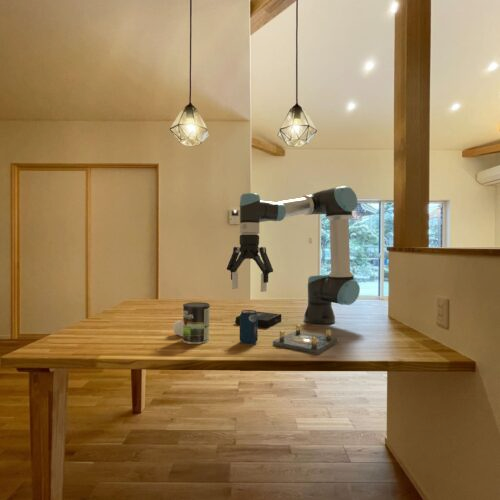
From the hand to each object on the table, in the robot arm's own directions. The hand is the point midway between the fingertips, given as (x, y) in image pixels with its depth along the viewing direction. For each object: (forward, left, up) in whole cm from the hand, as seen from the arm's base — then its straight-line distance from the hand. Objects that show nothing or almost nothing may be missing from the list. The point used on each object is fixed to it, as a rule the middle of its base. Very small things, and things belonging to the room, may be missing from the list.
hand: (248, 290), depth 121 cm
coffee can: (+10, -18, -20) cm, 29 cm away
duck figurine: (+6, -27, -20) cm, 34 cm away
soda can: (0, 0, -20) cm, 20 cm away
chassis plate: (-12, +18, -20) cm, 30 cm away
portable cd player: (-30, -16, -21) cm, 40 cm away
